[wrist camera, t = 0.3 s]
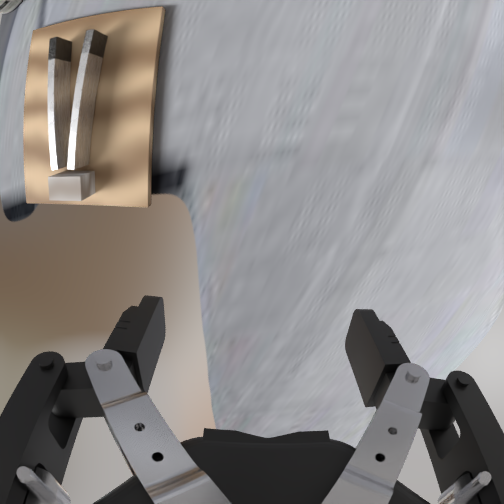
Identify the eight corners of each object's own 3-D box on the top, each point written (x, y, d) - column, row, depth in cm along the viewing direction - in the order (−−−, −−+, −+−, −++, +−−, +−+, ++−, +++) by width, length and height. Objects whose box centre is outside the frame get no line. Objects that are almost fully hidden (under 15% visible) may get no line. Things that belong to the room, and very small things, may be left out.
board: (38, 32, 29) (17, 26, 24) (165, 10, 30) (153, -5, 25) (32, 200, 39) (11, 211, 34) (151, 204, 40) (137, 216, 35)
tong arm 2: (89, 164, 36) (74, 169, 32) (82, 163, 36) (66, 169, 32) (107, 36, 29) (94, 29, 26) (100, 36, 29) (86, 30, 26)
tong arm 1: (73, 164, 36) (57, 169, 32) (66, 165, 36) (51, 170, 32) (72, 41, 29) (56, 36, 25) (65, 43, 29) (49, 38, 25)
